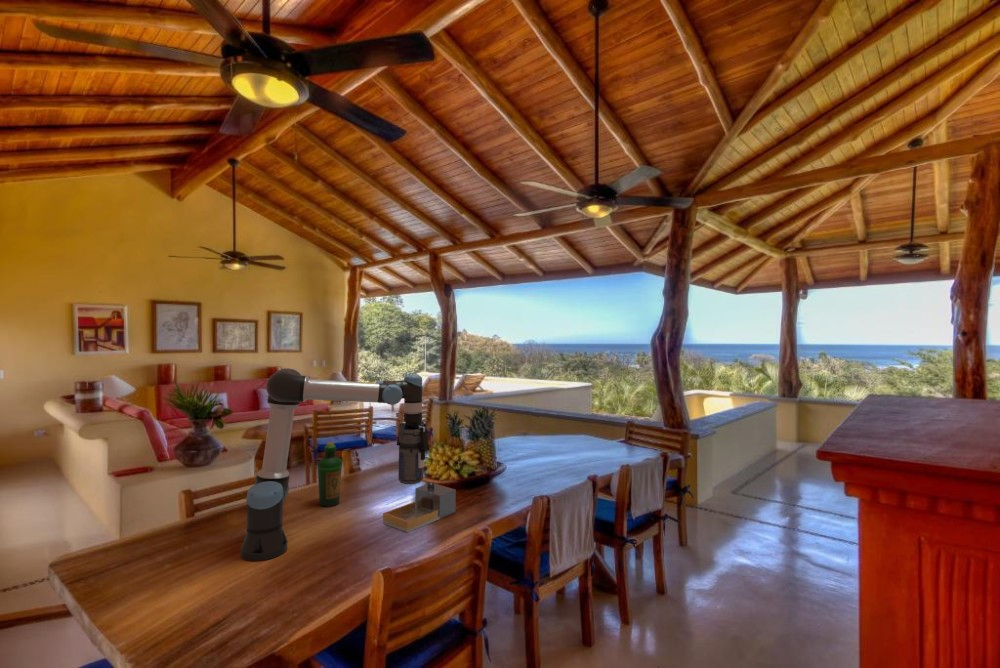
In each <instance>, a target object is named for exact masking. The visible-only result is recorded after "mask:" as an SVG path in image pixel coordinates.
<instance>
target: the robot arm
mask: <svg viewBox="0 0 1000 668" xmlns="http://www.w3.org/2000/svg"><path fill="white" fill-rule="evenodd" d="M265 387H266V393H267V399H266V401H267V405H269V407H270V411H269V417H268V418H269V419H268V424H267V433H266V436H265V437H266V439H265V444H264V445H265V446H264V454H263V460H262V465H261V467H262V468H261V469H260V470H259V471H258V472H257V473H256V477H255V484H253V485H252V486H250V487H249V489H248V490H247V493H246V494H247V495H246V497H245V499H246V501H245V502H246V531H245V532H246V533H245V536H244V539H243V542H242V543H241V547H240V558H241V559H243V560H246V561H250V562H259V561H266V560H270V559H274V558H277V557H279V556H281V555H283V554H284V553H286V552H287V550H288V548H289V547H288V538H287V535H286V533H285V531H284V526H283V522H284V521H283V520H284V519H283V516H284V512H283V511H284V504H285V502H286V499H287V496H288V494H289V492H290V490H289V489H290V485H289V484H290V483H289V482H290V472H289V471H288V470H287V466H288V458H289V452H290V445H291V438H292V437H291V436H292V429H293V423H294V417H295V411H296V410H295V409H296V408H297V407H299V406H300V405H301V403H305V402H306V401H309V400H311V401H312V400H313V401H314V400H315V401H335V402H336V401H337V402H338V401H339V402H356V403H357V402H358V403H359V402H360V403H379V404H387V405H390V406H395V405H398V404H399V403H400V402H401V401H402V400H403V411H404V413H403V423H405V425H404V426H405V428H406V429H411V430H416V429H419V431H420V436H421V442H419V444H418V447H419V450H420V451H419V452H418V468H422V467H423V468H425V460H426V453H427V452H429V451H430V446H429V444H430V443H429V440H428V433H427V426H426V427H422V426H421V424H420V423H421V422H423V413H422V412H423V387H424V386H423V377H422V376H420V374H417V375H416V374H409V375H405V376H404V379H403V380H376V382H366V381H365V382H364V381H363V382H362V381H348V380H334V379H333V380H332V379H331V380H330V379H317V378H309V377H308V376H307V375H302V374H301V373H300V372H299V371H298V370H295V369H294V368H287V367H285V368H284V367H283V368H280V369H278V370H277V371H276V372H274V373H272V375H270V377H268V379H267V382H266V386H265ZM400 426H401V423H399V427H400ZM400 445H401V444H400V442H399V434H398V436H397V441H396V446H398V447H399V446H400ZM422 448H423V449H422Z"/></svg>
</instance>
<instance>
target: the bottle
mask: <svg viewBox="0 0 1000 668" xmlns="http://www.w3.org/2000/svg"><path fill="white" fill-rule="evenodd" d="M323 452H325V456H324V457H321V458H320V460H319V461H318V463H317V473H318V478H317V479H318V495H319V496H318V497H319V498H318V500H319V501H318V502H319V505H320V506H322V507H334V506H337V505H338V504H339V503H340V496H341V484H342V470H343V469H342V468H343V466H342V465H343V460H342V459H341V458H340V457H338V456H336V452H337V447H336V444H335V442H333V441H329V442H326V444H325V446H324V450H323Z"/></svg>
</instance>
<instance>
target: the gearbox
mask: <svg viewBox="0 0 1000 668" xmlns="http://www.w3.org/2000/svg"><path fill="white" fill-rule="evenodd" d="M456 491H457V490H456V489H455V488H451V487H448V486H444V485H441V484H438V483H435V482H433V481H429V482H427V484H424V485H421V486H418V487H415V491H414V492H415V497H414V498H415V500H414V501H413V502H409V503H407V504H404V505H401V506H399V507H396V508H394V509H391V510H388V511H385V512H382V524H383V525H387V526H388V527H392V528H394V529H396V530H398V531H402V532H404V533H410V532H413V531H415V530H417V529H420V528H422V527H425V526H427V525H429V524H431V523H434V522H436V521H439V520H440V519H443V518H445V517H447V516H450V515H452V514H455V513H456V507H457V506H456V504H457V503H456V499H457V498H456V497H457V496H456V495H457V494H456V493H457V492H456Z"/></svg>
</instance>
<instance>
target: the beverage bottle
mask: <svg viewBox="0 0 1000 668" xmlns="http://www.w3.org/2000/svg"><path fill="white" fill-rule="evenodd" d="M400 424H401V426H400V425H399V429H398V430H399V431H398V435H399V442H400V444H401V445H400V446H399V445H398V476H397V477H398V481H399V482H400V484H403V485H416V484H419V483H420V482H422V481H423V479H424V467H422V468H418V452H419V451H420V450H419V447H418V444H419V442H421V436H420V431H419V429H416V430H411V429H406V428H405V426H404V425H405V422H402V423H400ZM420 424H421V426H422V427H426V428H427V424H426V423H425V422H424V421H421V423H420ZM422 449H423V448H422Z"/></svg>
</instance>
